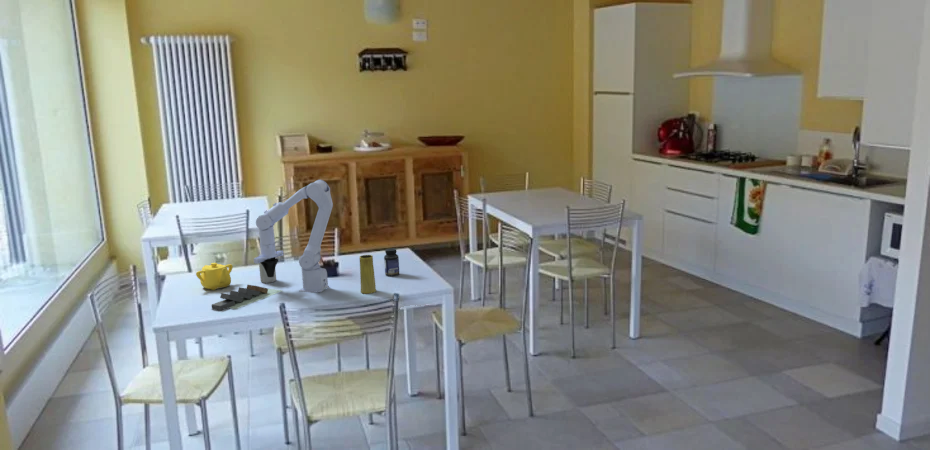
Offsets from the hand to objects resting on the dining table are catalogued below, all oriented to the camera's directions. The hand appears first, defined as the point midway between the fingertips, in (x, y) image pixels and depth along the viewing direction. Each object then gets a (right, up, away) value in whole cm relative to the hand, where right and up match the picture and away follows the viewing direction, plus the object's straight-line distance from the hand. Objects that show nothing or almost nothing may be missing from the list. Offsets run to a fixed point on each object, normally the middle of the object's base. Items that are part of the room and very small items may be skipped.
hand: (270, 276), depth 285 cm
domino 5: (-2, -5, -3) cm, 6 cm away
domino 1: (-10, -8, -18) cm, 22 cm away
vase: (+40, -6, -6) cm, 41 cm away
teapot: (-24, -5, +8) cm, 26 cm away
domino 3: (-6, -7, -10) cm, 14 cm away
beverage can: (-4, -3, +13) cm, 14 cm away
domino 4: (-4, -6, -7) cm, 10 cm away
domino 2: (-8, -8, -14) cm, 18 cm away
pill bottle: (+47, -1, +17) cm, 50 cm away
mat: (-6, -8, -9) cm, 13 cm away
